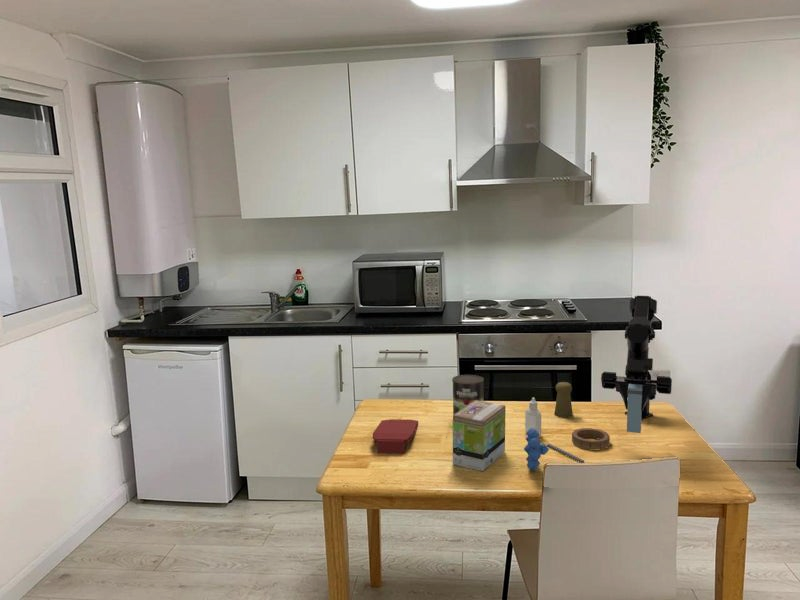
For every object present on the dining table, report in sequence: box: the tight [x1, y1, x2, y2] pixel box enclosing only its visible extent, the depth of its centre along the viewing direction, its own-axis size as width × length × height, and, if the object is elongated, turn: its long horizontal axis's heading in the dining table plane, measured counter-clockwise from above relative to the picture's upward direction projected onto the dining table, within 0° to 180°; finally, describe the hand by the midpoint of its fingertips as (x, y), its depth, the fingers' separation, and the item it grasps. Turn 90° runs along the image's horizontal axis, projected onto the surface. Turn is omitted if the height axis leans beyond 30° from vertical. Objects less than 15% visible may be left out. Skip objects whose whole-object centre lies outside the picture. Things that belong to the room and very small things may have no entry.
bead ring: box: [571, 427, 611, 450], centre depth 185 cm, size 10×10×2 cm
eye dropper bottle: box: [524, 397, 542, 438], centre depth 192 cm, size 4×6×12 cm
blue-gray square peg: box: [626, 384, 643, 434], centre depth 175 cm, size 4×4×13 cm
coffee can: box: [451, 374, 485, 416], centre depth 207 cm, size 10×10×14 cm
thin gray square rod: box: [546, 443, 585, 463], centre depth 178 cm, size 1×14×1 cm, turn 28°
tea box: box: [452, 400, 506, 472], centre depth 176 cm, size 15×10×15 cm, turn 148°
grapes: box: [523, 428, 550, 471], centre depth 168 cm, size 12×7×12 cm, turn 172°
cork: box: [554, 381, 574, 419], centre depth 208 cm, size 6×6×11 cm
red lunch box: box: [372, 418, 419, 455], centre depth 195 cm, size 12×5×25 cm
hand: (634, 409), depth 174 cm, fingers closed on blue-gray square peg, 4 cm apart
